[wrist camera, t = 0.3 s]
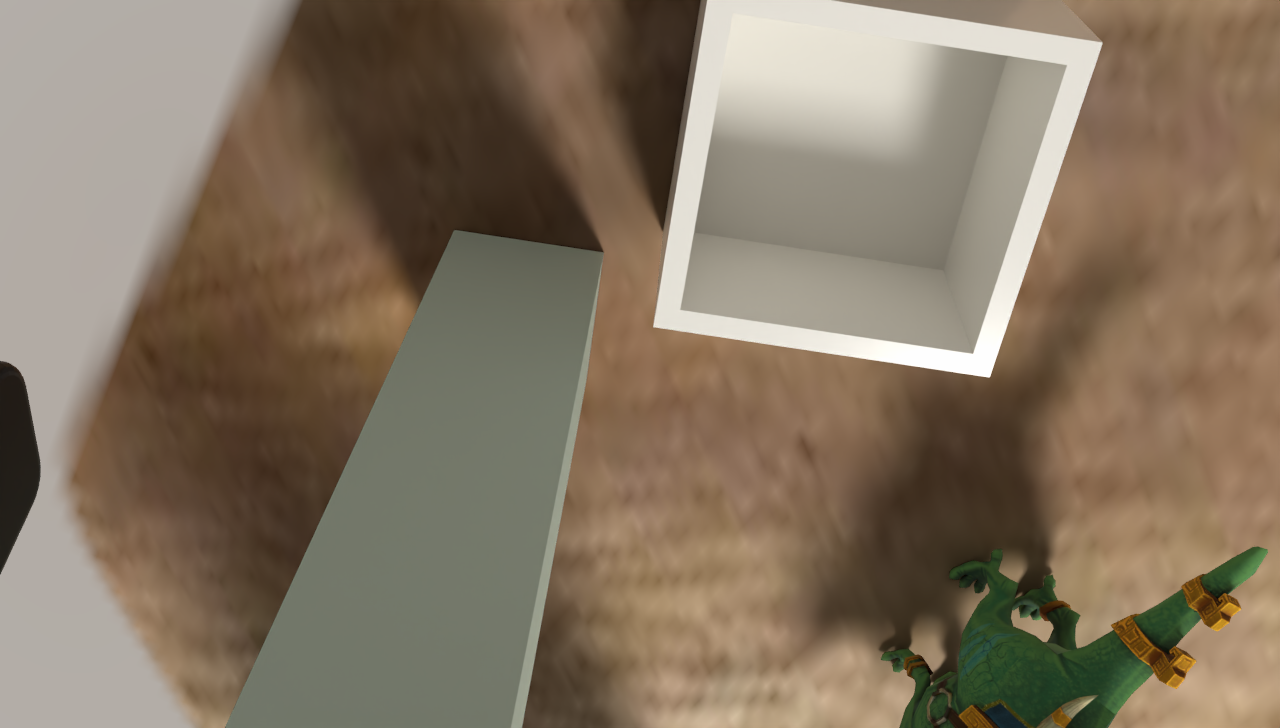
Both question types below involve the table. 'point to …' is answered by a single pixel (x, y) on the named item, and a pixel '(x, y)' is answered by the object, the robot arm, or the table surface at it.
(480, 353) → the sage bracket post
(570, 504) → the table surface
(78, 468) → the table surface
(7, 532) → the robot arm
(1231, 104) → the table surface
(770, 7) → the ceramic well
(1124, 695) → the figurine
